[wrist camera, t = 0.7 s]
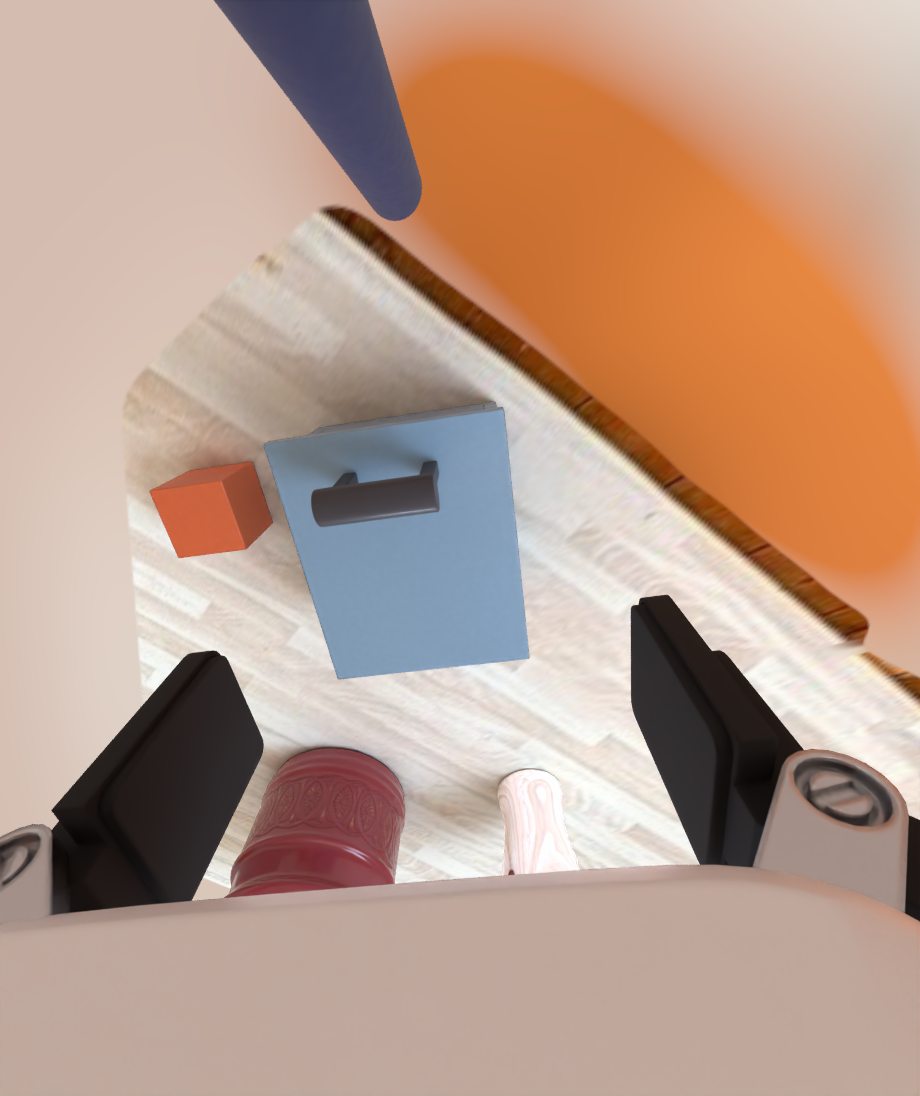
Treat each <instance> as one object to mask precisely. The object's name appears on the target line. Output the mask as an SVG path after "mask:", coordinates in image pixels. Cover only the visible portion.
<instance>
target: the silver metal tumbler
mask: <svg viewBox="0 0 920 1096" xmlns="http://www.w3.org/2000/svg"><path fill="white" fill-rule="evenodd" d="M497 795H498V801H499V805H500V809H501V812H502V816H503V821H504V830H505V840H504V853H503V863H502V873H501V876H505V875H518V874H531V873H545V872H558V871H571V870H581V869H580V866H579V863H578V861H577V858H576V856H575V853H574V851H573V848H572V846H571V843H570V840H569V837H568V835H567V832H566V828H565V824H564V818H563V793H562V787H561V785H560V783H559V781H558V780H557V779H556V778H555V777H554V776H553V775H551V774H549V773H547V772H545V771H541V770H535V769H527V770H521V771H517V772H514V773H512V774H510V775H509V776H507V777H506V778H505V779H504V780H503V781H502V782H501V783H500V785H499V787H498V792H497Z"/></svg>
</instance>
